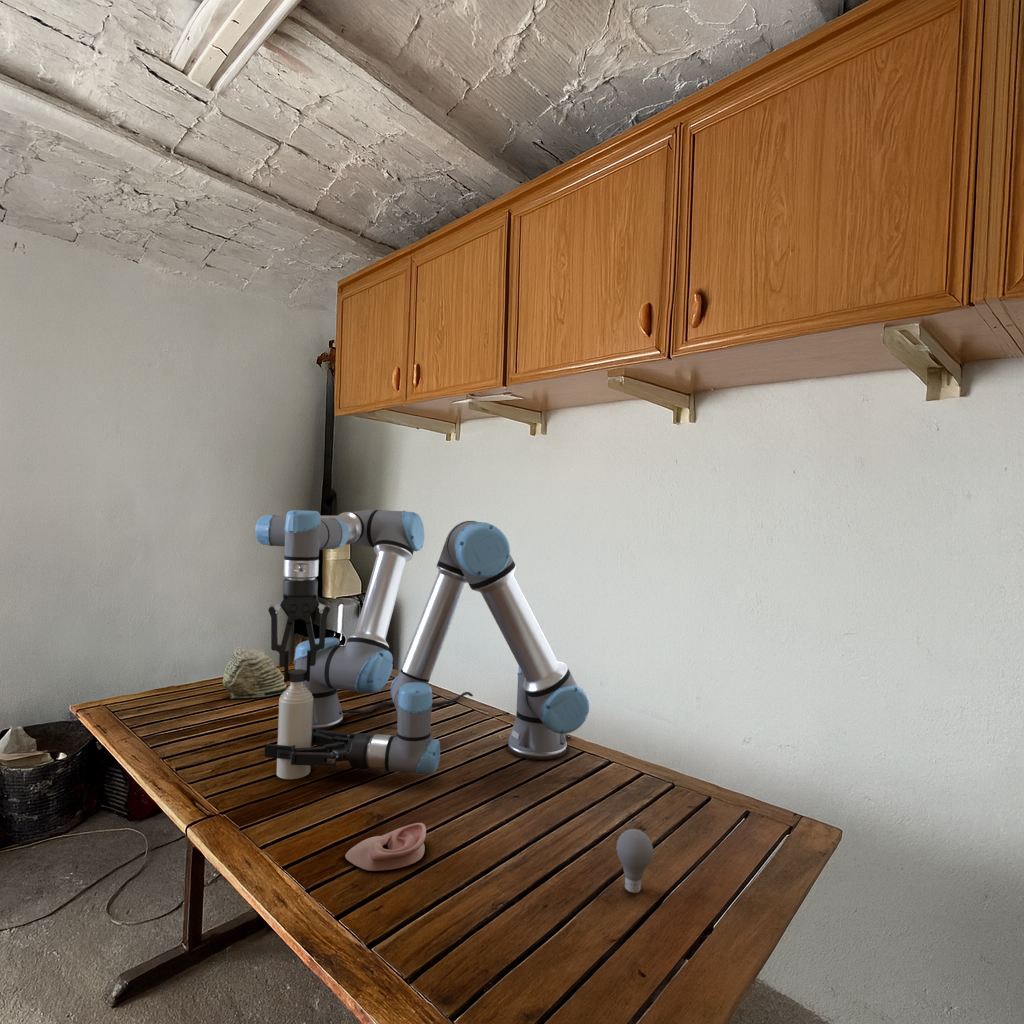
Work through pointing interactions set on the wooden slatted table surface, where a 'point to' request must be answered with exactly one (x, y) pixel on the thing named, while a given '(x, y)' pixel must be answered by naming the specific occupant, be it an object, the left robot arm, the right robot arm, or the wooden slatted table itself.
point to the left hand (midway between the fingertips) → (297, 680)
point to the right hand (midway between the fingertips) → (274, 743)
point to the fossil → (252, 674)
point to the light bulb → (634, 857)
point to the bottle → (294, 727)
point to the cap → (297, 675)
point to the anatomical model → (390, 849)
